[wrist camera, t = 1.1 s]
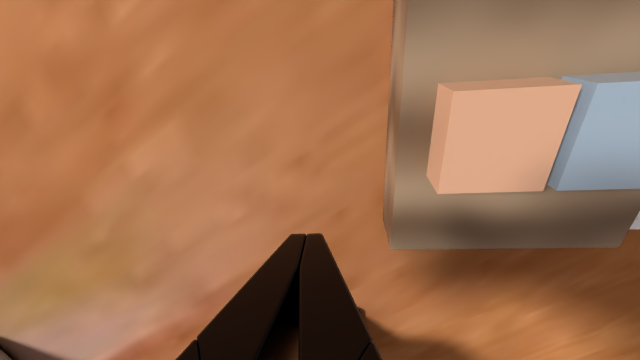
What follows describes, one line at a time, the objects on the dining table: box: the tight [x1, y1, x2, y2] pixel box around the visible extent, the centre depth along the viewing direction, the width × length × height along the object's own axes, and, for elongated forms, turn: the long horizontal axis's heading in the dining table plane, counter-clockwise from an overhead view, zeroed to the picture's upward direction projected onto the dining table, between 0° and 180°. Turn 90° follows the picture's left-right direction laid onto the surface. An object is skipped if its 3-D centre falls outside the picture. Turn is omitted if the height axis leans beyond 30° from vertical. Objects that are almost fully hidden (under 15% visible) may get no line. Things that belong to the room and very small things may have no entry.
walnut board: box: [383, 0, 640, 250], centre depth 16 cm, size 16×14×4 cm
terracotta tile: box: [426, 77, 582, 194], centre depth 13 cm, size 5×5×2 cm
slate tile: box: [546, 72, 640, 191], centre depth 13 cm, size 5×5×2 cm
